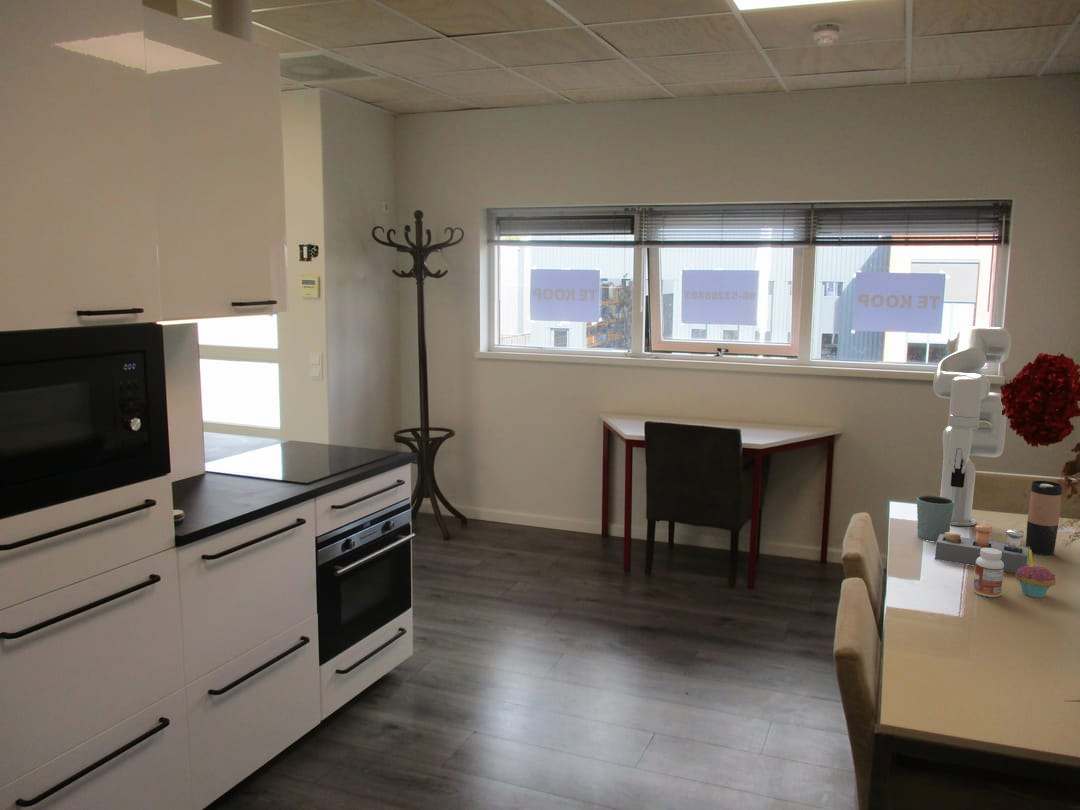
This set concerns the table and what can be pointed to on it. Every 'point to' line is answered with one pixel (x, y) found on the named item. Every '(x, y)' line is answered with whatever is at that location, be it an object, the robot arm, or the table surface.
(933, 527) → the green tapered cup
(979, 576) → the pill bottle
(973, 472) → the robot arm
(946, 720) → the table surface
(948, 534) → the oak plug
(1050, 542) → the travel mug
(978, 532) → the terracotta plug
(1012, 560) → the socket block
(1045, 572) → the cupcake
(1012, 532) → the aluminium plug
